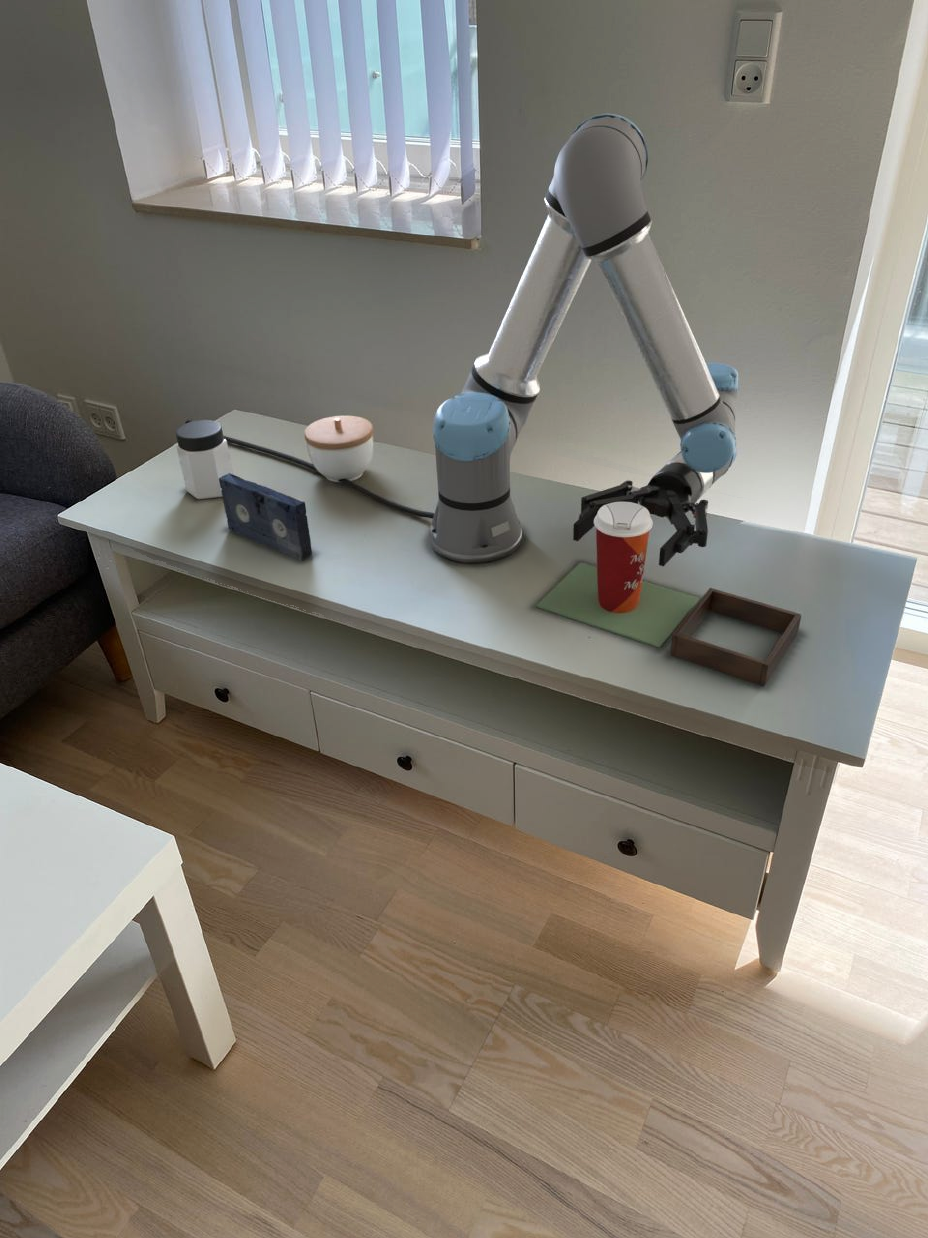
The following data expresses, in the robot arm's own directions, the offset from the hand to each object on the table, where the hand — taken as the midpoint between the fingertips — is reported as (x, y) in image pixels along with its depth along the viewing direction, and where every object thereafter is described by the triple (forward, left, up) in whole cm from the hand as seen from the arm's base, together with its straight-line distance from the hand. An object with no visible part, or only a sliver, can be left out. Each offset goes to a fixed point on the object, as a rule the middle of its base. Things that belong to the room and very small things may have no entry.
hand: (617, 544), depth 139 cm
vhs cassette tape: (-58, -12, -11) cm, 60 cm away
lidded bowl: (-63, +14, -11) cm, 66 cm away
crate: (+19, 0, -11) cm, 21 cm away
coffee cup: (0, +1, -10) cm, 10 cm away
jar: (-81, -3, -11) cm, 82 cm away
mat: (0, +1, -11) cm, 11 cm away
